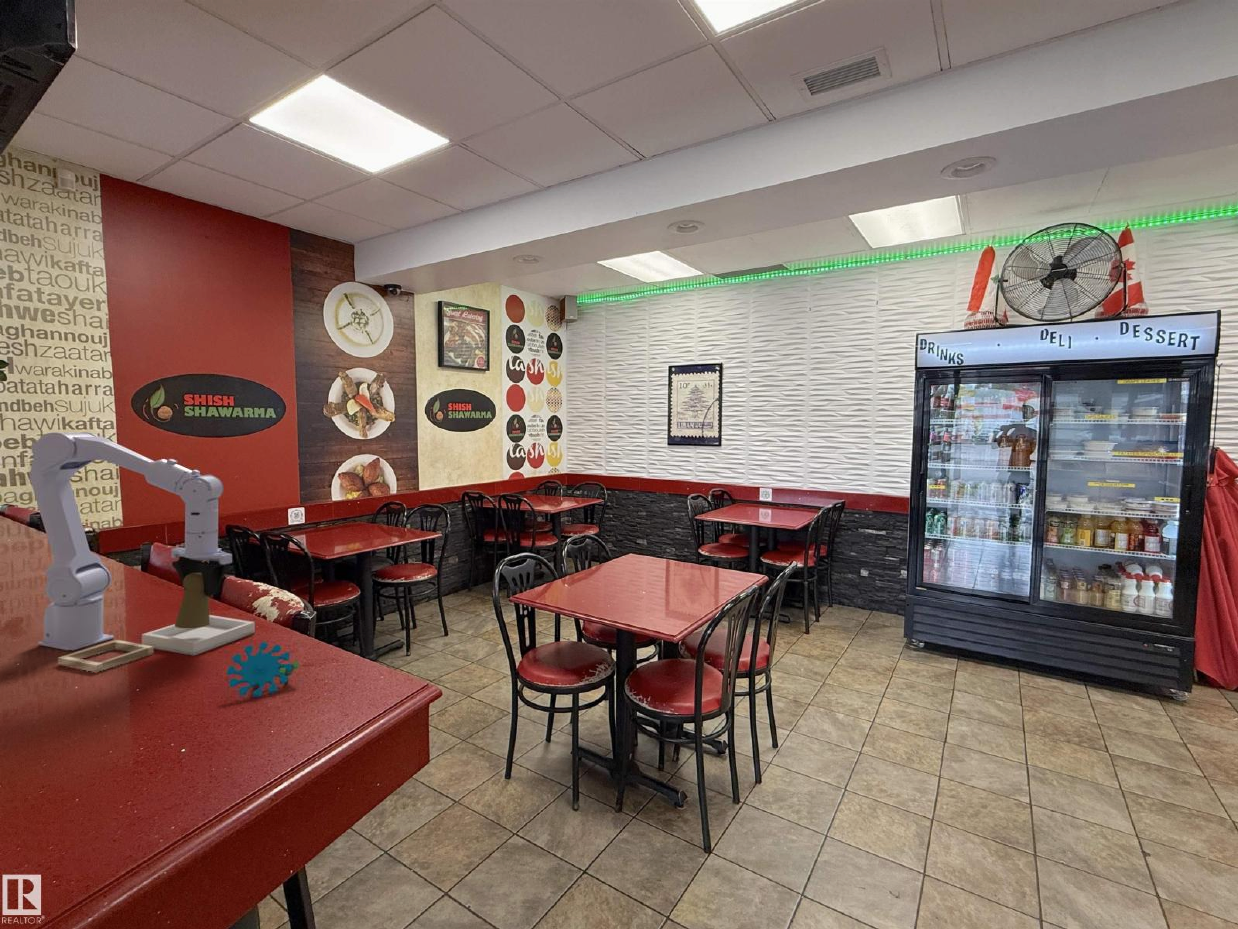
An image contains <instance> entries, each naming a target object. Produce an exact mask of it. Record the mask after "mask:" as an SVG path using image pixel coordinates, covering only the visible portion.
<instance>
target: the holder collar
mask: <svg viewBox="0 0 1238 929" xmlns="http://www.w3.org/2000/svg"><path fill="white" fill-rule="evenodd" d="M154 649H155V648H154V646H148V645H143V644H142V643H136V642H132V641H125V640H120V639H114V640H111V641H109V642H105V643H101V644H98V645H96V646H93V647H92V646H91V647H88V648H85V649H82V650H79V651H76V652H72V653H69V654H65V655H62V656H60V657H57V665H58V664H65V665H68V666H72V667H78V668H81V669H83V670H86V671H85V672H88V671H92V672H91V673H93V672H96V673H95V674H98V673H97V672H99V671H102V672H104V671H103V670H105V671H107V670H106V669H108V668H110V667H113V668H116V667H118V666H117V665H119V666H121V665H120V664H122V665H125V664H127V663H128V664H129V663H130V661H131V662H134V661H136V660H139V659H142V658H144V657H145V658H146V657H148V656H151V655H153V654H154V651H155V650H154ZM109 650H111V651H114V650H118V651H122V652H127V653H123V654H121V655H118V656H114V657H111V658H108V659H105V660H102V661H100V662H97V661H93V660H88V659H80V658H82V657H88V656H91V655H94V654H98V655H100V653H102V654H104V653H103V652H105V653H107V652H106V651H108V652H110V651H109ZM141 657H142V658H141ZM115 666H116V667H115ZM83 670H82V671H83ZM108 670H109V669H108ZM99 673H100V672H99Z"/></svg>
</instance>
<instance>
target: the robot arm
mask: <svg viewBox="0 0 1238 929" xmlns="http://www.w3.org/2000/svg"><path fill="white" fill-rule="evenodd" d="M30 446H31V447H30V449H31V453H32V456H33V457H32V458H33V459H32V463H31V467H30V471H29V479H30V484H31V486H32V489H33V494H34V497H35V500H36V503H37V506H38V511H39V514H40V516H41V520H42V523H43V526H44V530H45V533H46V537H47V539H48V544H49V548H50V550H51V554H52V557H53V561H52V563H50V565H49V567H48V568H47V569H46V571H45V574H46V585H45V589H44V590H45V594H46V597H47V598H48V600H50V601H51V602H50V603H49V604H48V606H47V607H46V608H45V611H44V613H43V641H39V642H38V645H39V646H43V647H48V648H54V649H60V650H63V651H68V650H72V651H75V650H78V649H82V648H85V647H89V646H92V645H95V644H98V643H103V642H105V641H108V640H112V639H114V638H115V636H114V635H112V634H105V633H104V595H105V590H107V589H108V587H110V586H111V584H112V583H111V582H112V574H111V572H110V570H109V569H108V568H107V567H106V566H105V564H103V561H102V558H101V557H100V556H98V555H97V554H95V553H94V552H92V551H91V549H90V547H89V543H88V540H87V537H86V536H87V535H86V533H85V529H84V525H83V523H82V518H81V515H80V512H79V508H78V505H77V502H76V499H75V498H76V497H75V495H74V492H73V487H72V484H71V481H70V480H71V479H72V478H73V477H74V475H75V474H76V473H77V472H78V471H79V470H80V469H82V468H84V467H86V466H87V465H89V464H92V463H93V462H94V461H99V460H100V461H101V460H102V461H105V462H107V463H109V464H110V463H111V464H113V465H116V466H119V467H122V468H124V469H127V470H130V471H133V472H135V473H137V474H138V473H139V474H141V475H143V476H144V478H145V481H146V482H147V483H148V484H150V485H152V486H155V487H158V488H160V489H162V490H164V491H167V492H170V493H172V494H175V495H177V496H179V498H180V499H181V500H182V501H183V502H184V507H185V509H184V510H185V511H184V514H185V516H184V517H185V518H184V519H185V520H184V522H185V523H184V524H185V525H184V547H177V548H176V547H175V548H172V549H171V551H170V553H171V555H170V557H171V558H172V559H177V558H178V559H177V560H175V561H172V562H171V566H172V567H173V568H174V569H175V570H176V573H177V574H178V576H179V579H180V580H181V584H182V585H183V580H184V578H185V577H186V576H187V575H189V574H193V573H202V576H203V580H204V592H205V595H206V596H209V597H210V596H213V595H217V594H218V591H219V588H220V585H221V581H222V579H223V576H224V575H225V572H226V571H227V570H228V568H229V567H230V565H231V564H232V563H233V554H232V553H229V552H225V551H222V548H219V547H218V546H219V498H220V497H221V496H222V495H223V492H224V485H223V482H222V481H221V479H219V478H218V477H216V476H214V475H213V474H204V475H201V474H200V473H201V471H200V470H198V469H194V470H192V469H189V468H186V467H185V466H182V465H180V464H177V463H178V460H175V459H174V458H168V459H166V458H165V459H164V458H162V459H157V460H155V461H154V460H153V459H150V458H148V457H146V456H144V455H142V454H140V453H138V452H135V451H133V450H131V449H129V448H127V447H125V446H123V445H120V444H118V443H116V442H113V441H112V440H110V439H108V438H107V437H104V436H101V435H99V436H98V435H96V434H95V433H92V432H88V431H87V432H85V431H84V432H58V431H54V432H46V433H45V434H43V435H42V436H40V437H39V438H38V439H37V440H36V441H35V442H34V443H33V444H32V445H30ZM203 562H206V563H203ZM183 590H184V592H185V588H184V587H183Z"/></svg>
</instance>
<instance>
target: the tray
mask: <svg viewBox="0 0 1238 929" xmlns="http://www.w3.org/2000/svg"><path fill="white" fill-rule="evenodd" d="M209 620H210V624H209V625H208V626H205V627H200V628H178V627H175V624H171V625H167V626H164V627H161V628H159V629H155V630H151V631H148V632H145V633H142V634H141V644H143V645H148V646H154V649H155V650H161V651H167V652H173V653H178V654H184V655H190V656H193V657H194V656H196V655H200V654H202V653H205V652H207V651H210V650H213V649H216V648H218V647H221V646H224V645H226V644H229V643H231V642H234V641H238V640H239V639H242V638H245V637H247V636H250V635H253V634H255V632H256V630H255V629H256V628H255V625H256V624H255V623H256V621H250V620H244V619H238V618H232V617H225V616H224V617H223V616H218V615H212V614H209Z"/></svg>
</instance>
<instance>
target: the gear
mask: <svg viewBox="0 0 1238 929" xmlns="http://www.w3.org/2000/svg"><path fill="white" fill-rule="evenodd" d="M268 647H269V643H267V642H266V641H265V642H264V641H261V642H260V643H259V647H258V648H259V649H258V651H257V652H256V653H255V654H251V653H252V652H253V651H254V646H253V645H251V644H250V645H247V646H245V647H244V650H243V651H244V653H245V654H246V657H247V659H246V660H242V655H241V653H237V654H235V655H234V656H232V658H231V661H232V662H233V663H234V664H238V666H240V667H241V669H239V670H238V669H237V668H236V667H235V666H234V665H229V666H228V668H227V670H226V675H228V676H232V675H237V676H239V677H242V678H241V679H238V678H236V677H232V678H229V682H228V685H229V687H230V688H234V687H237V686H238V685H241V684H248V685H247V686H246V685H245V686H241V687H240V688H238V690H237V693H238V695H240V696H242V697H243V696H246V694H247V693H248V691H249V690H250V689H252V688H254V687H256V686H258V688H257V689H254V691H253V693H252V697H254V698H261V696H262V693H263V688H264V686H265V685H266V684H270V686H269V688H268V689H267V693H268V694H273V692H274V693H276V692H277V690H278V686H277V685H276V684H275V678H279V684H281V685H284V684H286V682H288V681H289V679H290V678H289V677H290V676H291V675H293V672H294V670H297V669H298V668H299V666H300V662H299V661H298V660H295V661H294V662H293V663H282V662H280V661H279V660H282V661H285V662H286V661H289V660H290V658H291V655H290V652H289V651H285V652H284V653H282V654H279V655H273V654H275V653H276V654H277V653H280V652H281V651H282V646H281V645H279V644H278V643H277V644H274V646H273V647H272V649H270V650H269V651H267V652H263V651H264V650H266V649H268ZM275 691H276V692H275Z"/></svg>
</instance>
